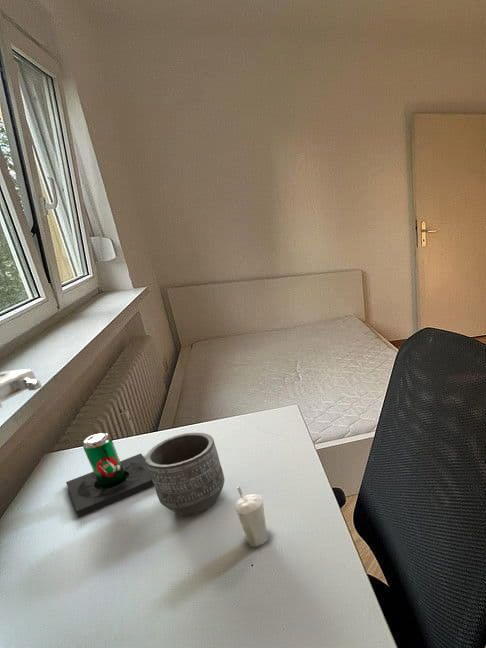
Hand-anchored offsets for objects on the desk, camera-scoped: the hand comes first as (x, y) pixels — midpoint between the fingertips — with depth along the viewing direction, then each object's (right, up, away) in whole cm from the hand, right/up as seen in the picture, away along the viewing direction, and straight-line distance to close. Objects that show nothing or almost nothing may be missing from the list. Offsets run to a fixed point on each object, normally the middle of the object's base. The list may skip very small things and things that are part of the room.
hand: (18, 394), depth 88 cm
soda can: (+13, -20, +9) cm, 26 cm away
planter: (+35, -22, +1) cm, 41 cm away
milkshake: (+51, -26, -9) cm, 58 cm away
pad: (+13, -20, +9) cm, 26 cm away
